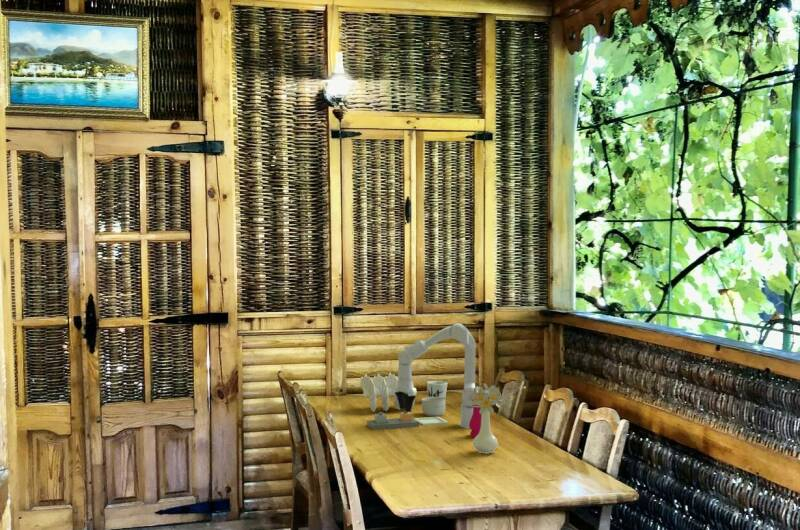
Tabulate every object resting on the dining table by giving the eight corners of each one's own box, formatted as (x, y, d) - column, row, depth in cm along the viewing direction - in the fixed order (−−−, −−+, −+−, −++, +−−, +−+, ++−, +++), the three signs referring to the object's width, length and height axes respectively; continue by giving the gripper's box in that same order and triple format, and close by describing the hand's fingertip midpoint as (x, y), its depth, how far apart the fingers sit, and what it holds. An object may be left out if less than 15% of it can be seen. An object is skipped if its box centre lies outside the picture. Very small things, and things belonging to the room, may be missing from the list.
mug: (423, 404, 415) (423, 383, 414) (431, 398, 429) (431, 378, 429) (444, 405, 412) (444, 384, 411) (451, 399, 426) (451, 379, 426)
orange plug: (411, 425, 364) (411, 411, 364) (402, 426, 363) (402, 412, 362) (408, 423, 368) (408, 409, 368) (399, 424, 366) (399, 410, 366)
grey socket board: (419, 427, 362) (419, 421, 362) (373, 430, 355) (373, 425, 355) (411, 422, 371) (411, 417, 371) (367, 426, 365) (366, 420, 365)
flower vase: (474, 459, 308) (474, 390, 308) (465, 447, 327) (465, 382, 326) (509, 458, 310) (509, 389, 309) (498, 446, 328) (498, 381, 327)
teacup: (436, 419, 379) (436, 401, 379) (416, 416, 385) (416, 398, 385) (453, 414, 390) (453, 396, 390) (434, 411, 397) (434, 394, 396)
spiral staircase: (417, 419, 399) (366, 420, 390) (405, 397, 414) (356, 397, 405) (425, 386, 391) (373, 386, 383) (413, 365, 406) (363, 365, 398)
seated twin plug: (386, 427, 360) (386, 413, 360) (377, 428, 359) (377, 413, 359) (383, 425, 364) (383, 411, 364) (374, 426, 363) (374, 412, 363)
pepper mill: (486, 438, 341) (486, 388, 341) (468, 437, 343) (468, 388, 342) (487, 434, 348) (487, 385, 348) (470, 433, 350) (470, 385, 349)
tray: (448, 424, 367) (448, 421, 367) (422, 426, 364) (422, 423, 364) (438, 419, 378) (438, 416, 378) (413, 421, 375) (413, 418, 375)
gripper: (390, 376, 370) (391, 407, 370) (401, 381, 356) (401, 413, 357) (406, 375, 372) (406, 406, 373) (417, 380, 359) (417, 412, 359)
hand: (405, 410), depth 365 cm, fingers open, 7 cm apart
